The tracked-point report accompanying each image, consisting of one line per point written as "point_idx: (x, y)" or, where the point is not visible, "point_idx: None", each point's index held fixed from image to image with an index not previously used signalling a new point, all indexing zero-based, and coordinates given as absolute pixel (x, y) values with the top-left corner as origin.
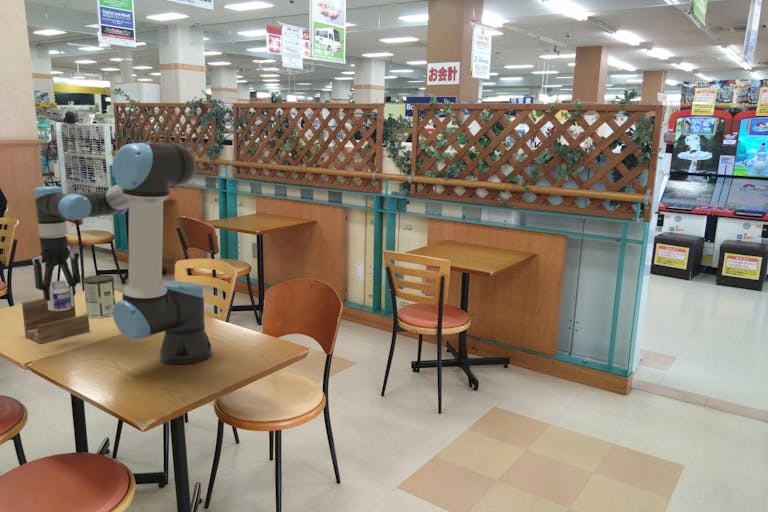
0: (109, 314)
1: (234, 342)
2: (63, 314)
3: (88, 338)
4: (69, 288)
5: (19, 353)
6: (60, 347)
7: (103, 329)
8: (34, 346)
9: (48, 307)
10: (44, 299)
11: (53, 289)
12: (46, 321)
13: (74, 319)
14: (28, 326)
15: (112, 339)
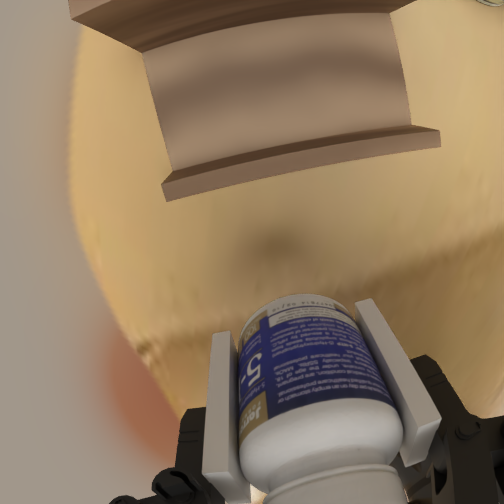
0: (495, 4)
1: (499, 403)
2: (346, 2)
3: (362, 224)
4: (402, 454)
5: (109, 250)
6: (245, 269)
7: (441, 146)
8: (160, 197)
9: (213, 349)
10: (184, 417)
11: (268, 488)
12: (243, 19)
13: (369, 155)
14: (145, 46)
15: (410, 285)
